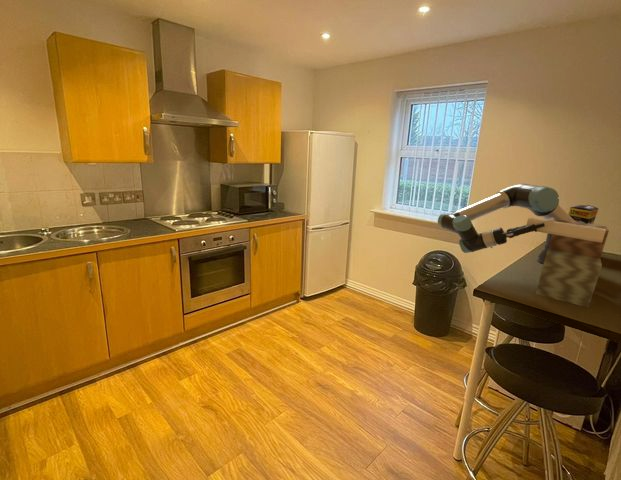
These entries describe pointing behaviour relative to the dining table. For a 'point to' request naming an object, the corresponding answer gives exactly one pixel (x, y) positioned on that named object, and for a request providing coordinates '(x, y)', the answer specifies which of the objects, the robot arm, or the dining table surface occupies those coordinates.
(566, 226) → the white long bar
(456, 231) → the robot arm
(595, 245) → the two-tone wood block
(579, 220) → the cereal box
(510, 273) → the dining table surface
